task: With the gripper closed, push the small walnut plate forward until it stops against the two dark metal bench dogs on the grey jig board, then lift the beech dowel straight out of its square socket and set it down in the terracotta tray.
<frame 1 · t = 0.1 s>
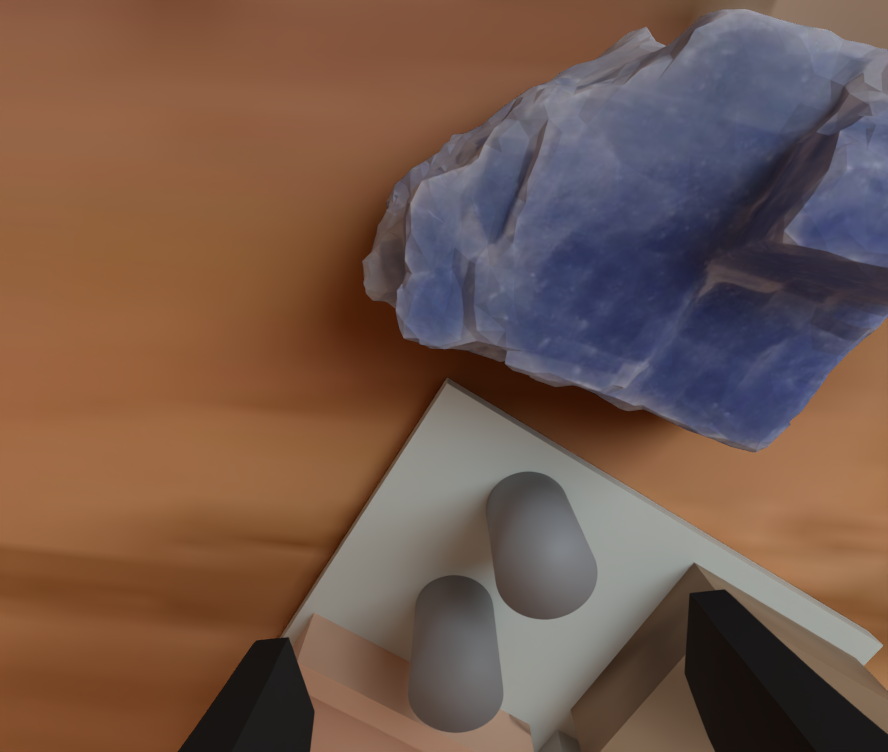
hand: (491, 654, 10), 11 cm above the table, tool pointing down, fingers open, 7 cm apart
plate: (710, 684, 22), point 1 cm above the table, touching jig board
jig board: (516, 702, 23), on the table
mineral: (606, 239, 19), on the table
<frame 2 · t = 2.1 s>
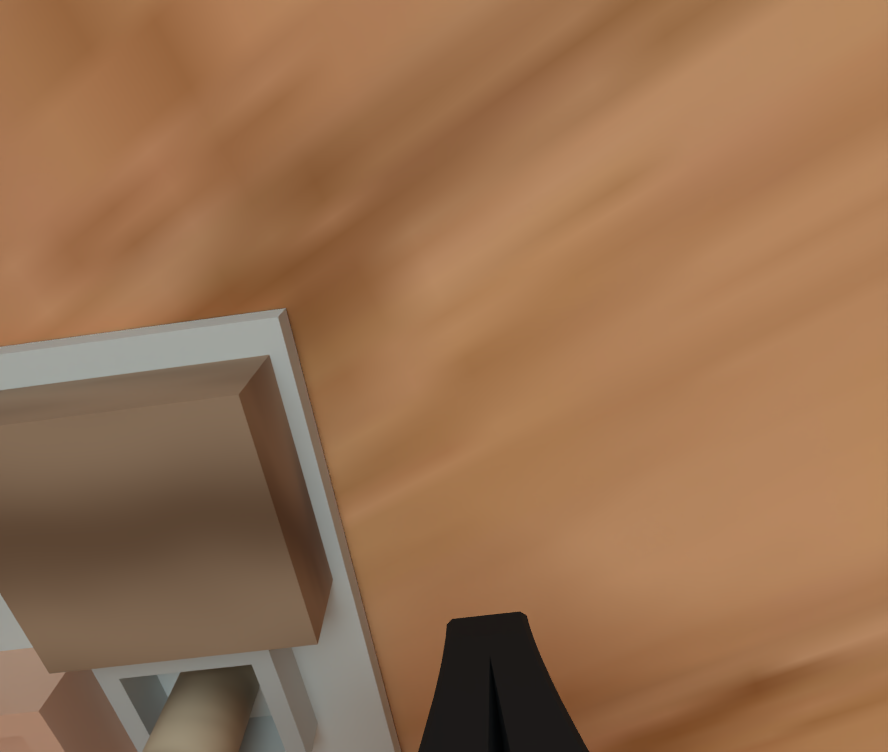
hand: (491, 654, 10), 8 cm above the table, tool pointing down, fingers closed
tray: (13, 747, 21), resting on jig board
dowel: (220, 678, 20), point 1 cm above the table, touching jig board
plate: (174, 493, 16), point 1 cm above the table, touching jig board
jig board: (86, 624, 20), on the table
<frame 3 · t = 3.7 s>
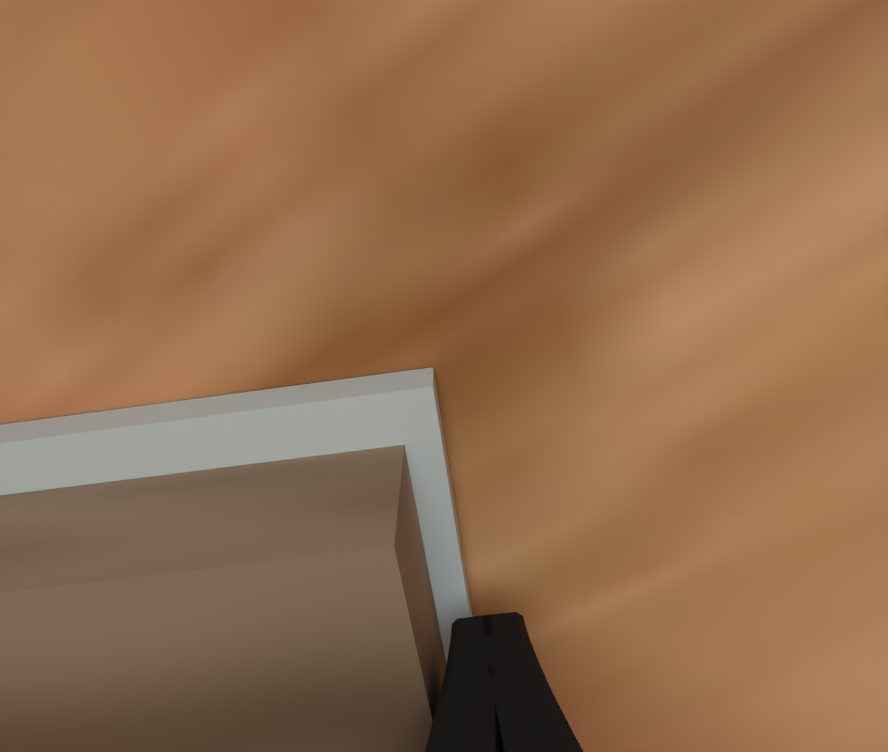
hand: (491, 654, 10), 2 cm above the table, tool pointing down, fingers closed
plate: (241, 638, 11), point 1 cm above the table, touching gripper
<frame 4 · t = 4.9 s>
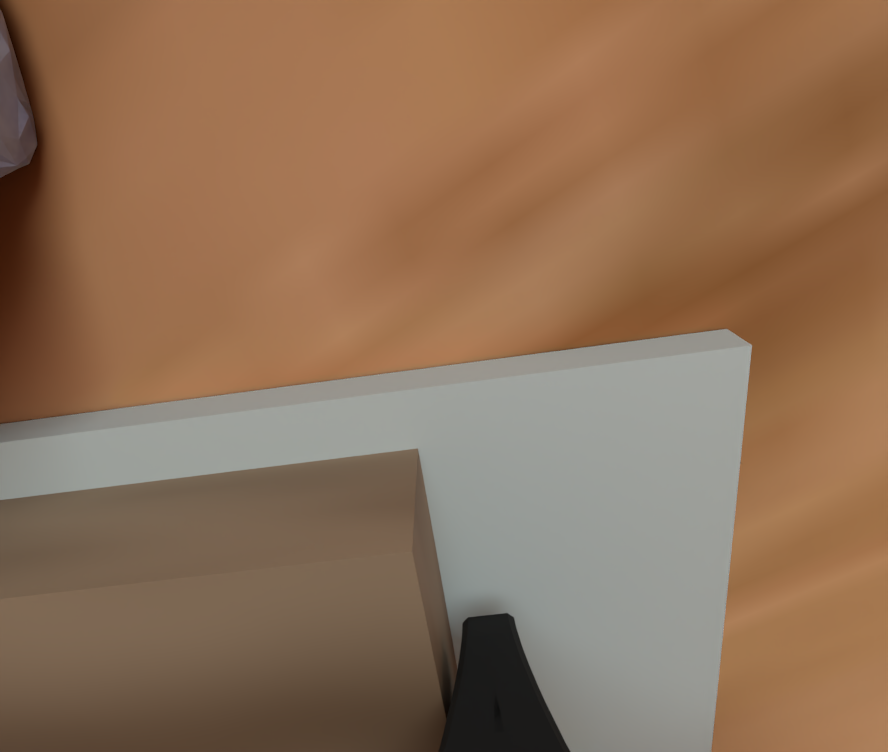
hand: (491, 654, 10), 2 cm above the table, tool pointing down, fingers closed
plate: (252, 640, 11), point 1 cm above the table, touching gripper, jig board
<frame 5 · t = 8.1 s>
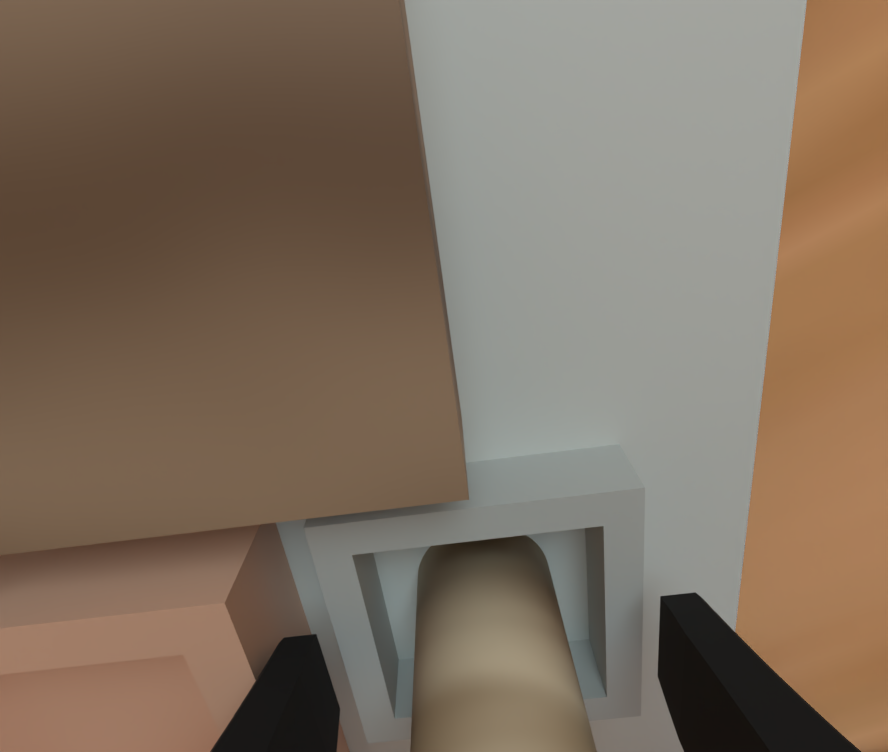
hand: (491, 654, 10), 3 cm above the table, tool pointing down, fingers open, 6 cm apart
tray: (119, 698, 13), resting on jig board
dowel: (483, 576, 12), point 1 cm above the table, touching jig board
plate: (180, 226, 9), point 1 cm above the table, touching jig board
jig board: (257, 483, 12), on the table
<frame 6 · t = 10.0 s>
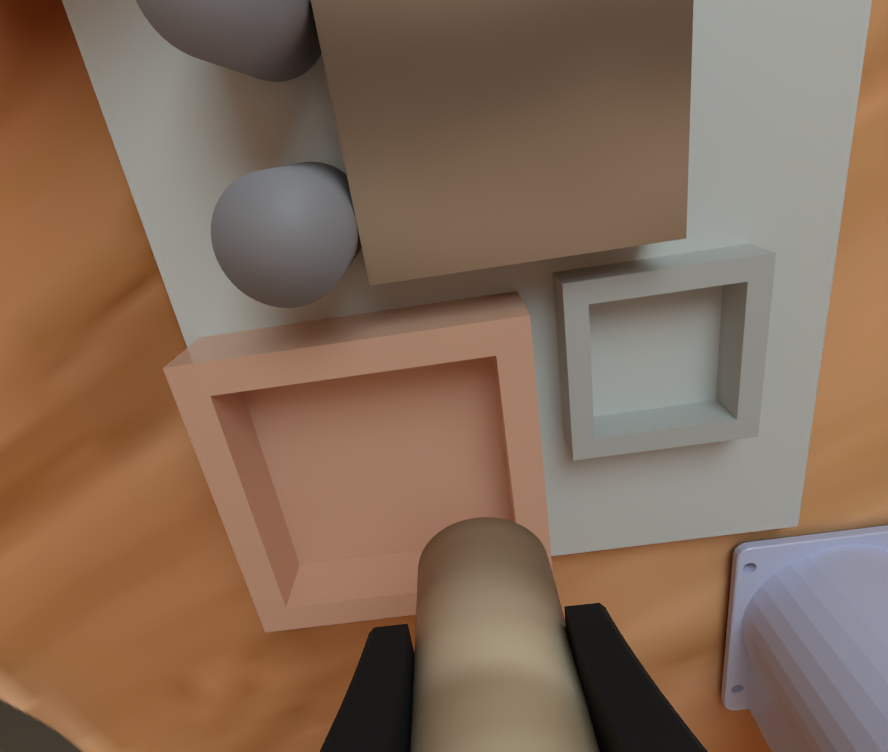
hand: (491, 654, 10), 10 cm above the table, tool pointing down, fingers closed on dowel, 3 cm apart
tray: (386, 451, 19), resting on jig board
dowel: (483, 570, 12), point 8 cm above the table, touching gripper
plate: (498, 93, 14), point 1 cm above the table, touching jig board
jig board: (498, 286, 17), on the table
when the fingers open (5 cm above the table, at t = 11.5 s): dowel drops 1 cm, resting on tray.
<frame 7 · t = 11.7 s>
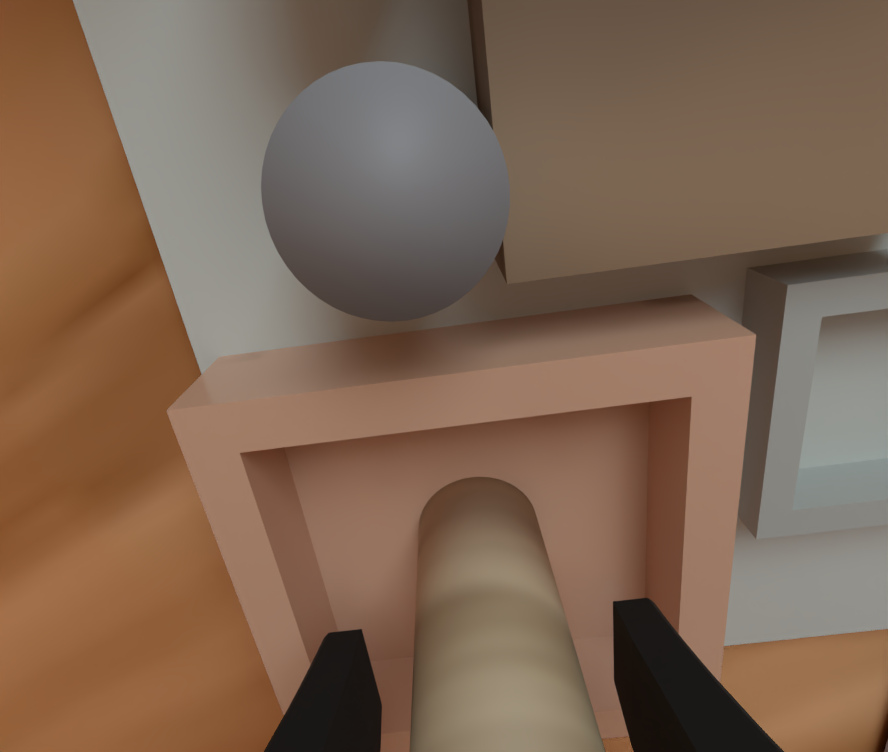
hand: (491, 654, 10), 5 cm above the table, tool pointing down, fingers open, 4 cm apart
tray: (476, 516, 13), resting on jig board
dowel: (478, 527, 13), point 1 cm above the table, touching tray
jig board: (652, 287, 12), on the table
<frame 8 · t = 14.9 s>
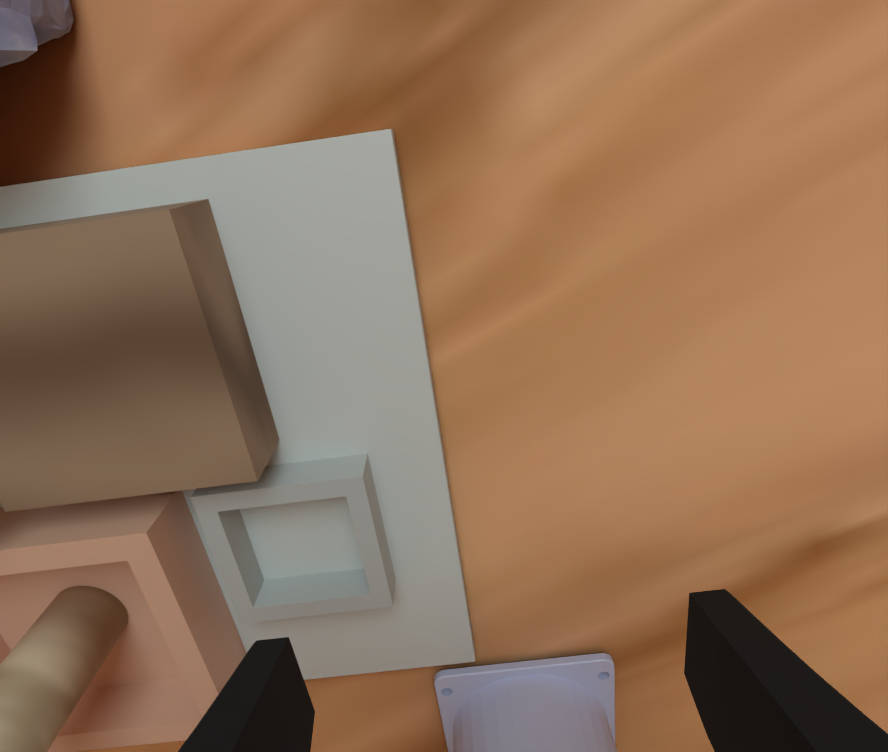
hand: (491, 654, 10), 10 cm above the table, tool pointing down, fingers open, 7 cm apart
tray: (99, 604, 22), resting on jig board
dowel: (91, 612, 21), point 1 cm above the table, touching tray
plate: (124, 346, 17), point 1 cm above the table, touching jig board
jig board: (176, 475, 20), on the table
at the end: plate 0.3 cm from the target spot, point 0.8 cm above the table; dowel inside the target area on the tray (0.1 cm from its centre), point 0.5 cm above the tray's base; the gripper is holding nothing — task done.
